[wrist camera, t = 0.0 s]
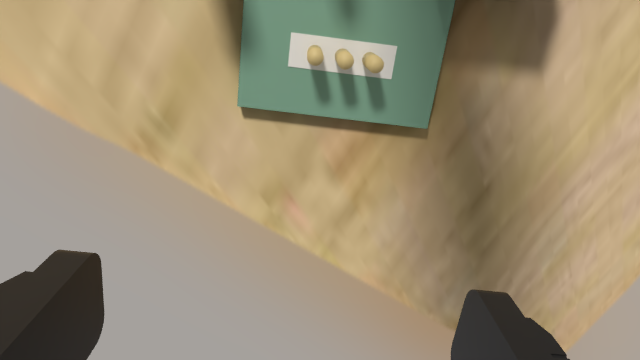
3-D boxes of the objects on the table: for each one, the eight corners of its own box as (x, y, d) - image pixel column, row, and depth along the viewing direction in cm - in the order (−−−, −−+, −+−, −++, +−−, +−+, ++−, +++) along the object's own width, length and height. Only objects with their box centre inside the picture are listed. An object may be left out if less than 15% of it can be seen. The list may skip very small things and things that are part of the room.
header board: (249, -55, 33) (239, -65, 29) (456, -25, 34) (477, -30, 30) (239, 103, 37) (230, 115, 33) (423, 125, 38) (438, 140, 34)
